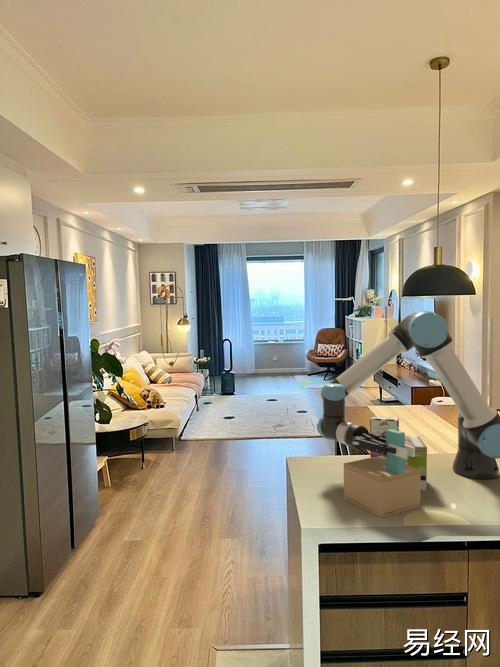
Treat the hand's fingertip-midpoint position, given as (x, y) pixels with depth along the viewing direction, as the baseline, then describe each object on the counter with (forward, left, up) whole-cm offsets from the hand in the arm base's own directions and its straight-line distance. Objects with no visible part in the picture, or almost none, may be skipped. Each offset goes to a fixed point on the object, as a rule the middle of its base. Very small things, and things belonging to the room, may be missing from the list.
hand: (410, 453), depth 127 cm
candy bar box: (-8, -55, -18) cm, 58 cm away
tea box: (-8, -27, -18) cm, 33 cm away
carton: (+6, -10, -18) cm, 21 cm away
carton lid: (+6, -10, -8) cm, 14 cm away
